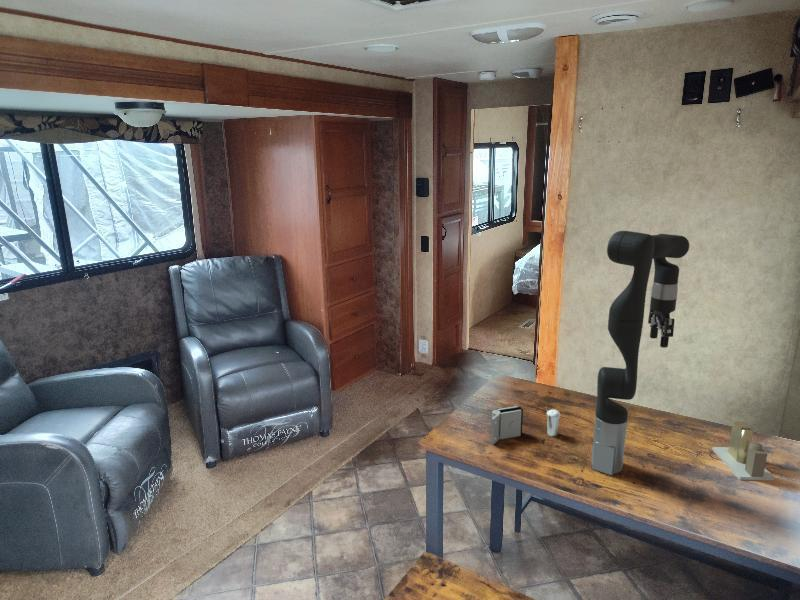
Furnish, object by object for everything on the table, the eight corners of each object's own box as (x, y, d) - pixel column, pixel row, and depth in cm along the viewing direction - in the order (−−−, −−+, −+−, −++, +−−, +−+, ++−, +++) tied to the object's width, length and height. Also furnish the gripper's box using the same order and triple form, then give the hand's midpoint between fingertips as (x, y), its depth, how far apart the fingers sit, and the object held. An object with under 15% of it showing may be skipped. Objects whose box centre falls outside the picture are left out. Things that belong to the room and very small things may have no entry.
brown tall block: (727, 452, 173) (732, 421, 170) (738, 452, 173) (743, 421, 170) (739, 463, 167) (744, 432, 164) (750, 463, 166) (756, 432, 163)
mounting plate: (712, 449, 176) (716, 422, 173) (743, 450, 176) (748, 422, 173) (739, 479, 160) (744, 450, 158) (774, 480, 160) (780, 451, 157)
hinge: (492, 445, 182) (492, 419, 179) (482, 438, 187) (483, 412, 184) (523, 435, 188) (524, 409, 185) (514, 428, 193) (514, 403, 190)
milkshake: (546, 428, 192) (548, 403, 189) (560, 433, 188) (562, 408, 186) (541, 434, 188) (542, 408, 186) (555, 438, 185) (557, 413, 182)
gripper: (685, 301, 166) (679, 350, 170) (666, 289, 179) (661, 335, 184) (660, 302, 166) (655, 350, 171) (643, 290, 180) (639, 335, 184)
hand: (658, 342), depth 177 cm, fingers open, 8 cm apart
